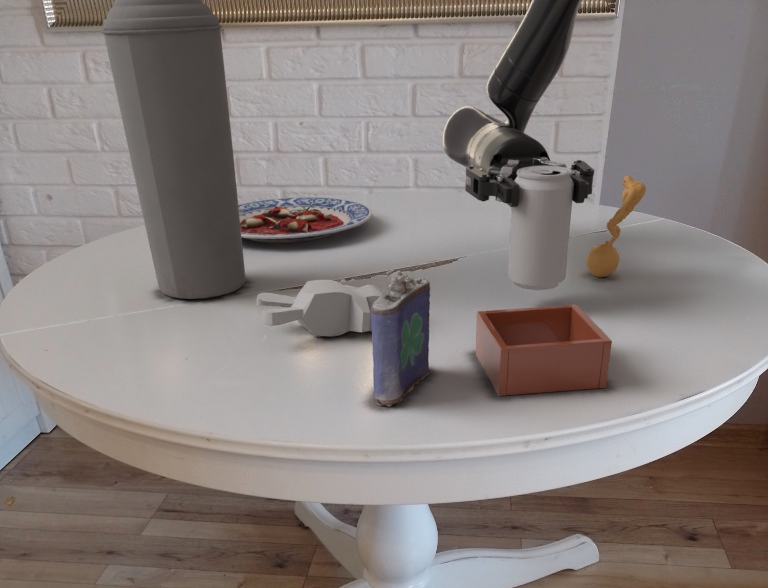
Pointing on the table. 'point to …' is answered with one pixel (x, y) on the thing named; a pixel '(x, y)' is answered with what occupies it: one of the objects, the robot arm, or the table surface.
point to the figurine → (615, 231)
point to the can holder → (542, 350)
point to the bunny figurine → (323, 307)
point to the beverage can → (540, 227)
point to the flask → (400, 337)
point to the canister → (179, 141)
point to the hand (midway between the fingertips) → (549, 194)
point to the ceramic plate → (299, 218)
